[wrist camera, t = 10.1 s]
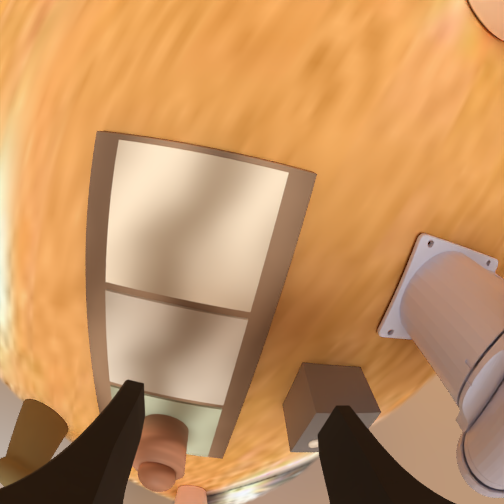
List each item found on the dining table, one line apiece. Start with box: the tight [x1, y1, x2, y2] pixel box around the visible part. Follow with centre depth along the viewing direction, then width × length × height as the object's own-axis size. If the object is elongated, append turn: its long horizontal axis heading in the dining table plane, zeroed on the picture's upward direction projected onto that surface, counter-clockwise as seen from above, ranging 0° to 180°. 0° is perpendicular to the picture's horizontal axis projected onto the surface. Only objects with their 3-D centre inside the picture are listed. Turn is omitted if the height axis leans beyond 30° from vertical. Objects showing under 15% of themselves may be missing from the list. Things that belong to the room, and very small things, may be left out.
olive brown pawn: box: [0, 399, 68, 487], centre depth 19 cm, size 6×6×11 cm
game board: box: [86, 131, 317, 458], centre depth 20 cm, size 12×27×1 cm, turn 167°
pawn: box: [132, 414, 189, 492], centre depth 19 cm, size 4×4×6 cm
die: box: [283, 363, 381, 452], centre depth 20 cm, size 5×5×5 cm
